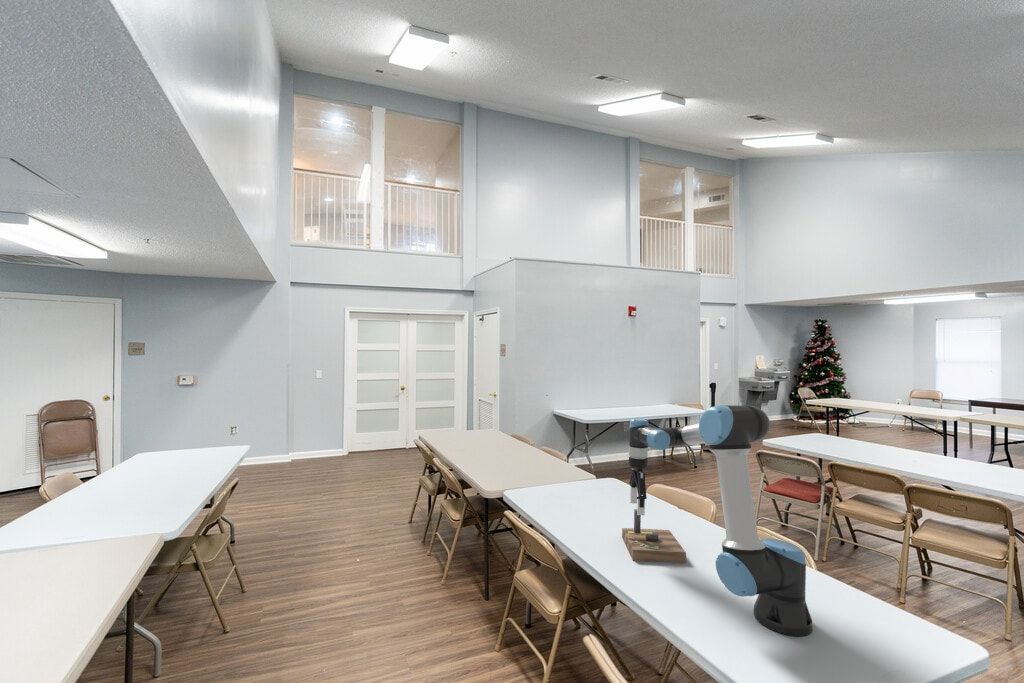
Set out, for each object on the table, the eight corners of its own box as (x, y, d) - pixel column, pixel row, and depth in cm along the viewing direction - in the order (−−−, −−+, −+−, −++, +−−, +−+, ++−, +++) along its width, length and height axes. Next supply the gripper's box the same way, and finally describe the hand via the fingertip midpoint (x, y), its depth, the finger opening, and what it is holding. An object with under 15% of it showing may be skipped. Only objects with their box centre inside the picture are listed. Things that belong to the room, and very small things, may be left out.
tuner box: (685, 562, 174) (685, 551, 174) (632, 560, 175) (632, 549, 175) (669, 539, 196) (669, 529, 196) (621, 537, 197) (622, 527, 197)
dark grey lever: (659, 541, 183) (660, 513, 183) (629, 540, 183) (630, 511, 184) (656, 536, 188) (657, 508, 188) (627, 535, 188) (627, 507, 189)
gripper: (655, 465, 174) (654, 520, 174) (640, 450, 199) (639, 499, 198) (635, 464, 174) (634, 519, 174) (623, 449, 199) (622, 498, 199)
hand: (637, 508), depth 186 cm, fingers open, 13 cm apart
